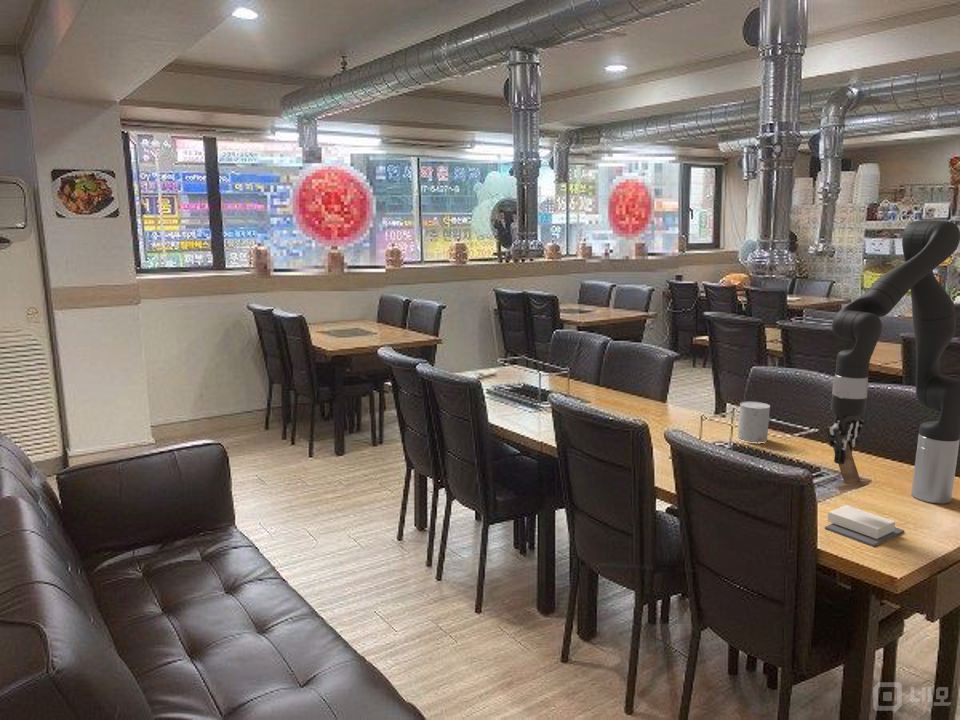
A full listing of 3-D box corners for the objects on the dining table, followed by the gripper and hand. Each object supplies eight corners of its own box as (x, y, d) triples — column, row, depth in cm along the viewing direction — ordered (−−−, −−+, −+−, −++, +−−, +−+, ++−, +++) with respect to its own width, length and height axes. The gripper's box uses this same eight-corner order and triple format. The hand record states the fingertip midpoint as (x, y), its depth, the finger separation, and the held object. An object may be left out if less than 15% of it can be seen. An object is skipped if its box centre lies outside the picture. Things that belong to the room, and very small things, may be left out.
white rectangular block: (846, 505, 180) (895, 521, 170) (845, 515, 181) (894, 532, 171) (828, 512, 176) (877, 529, 166) (827, 522, 176) (876, 540, 166)
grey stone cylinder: (737, 442, 241) (740, 407, 239) (737, 434, 250) (739, 400, 248) (767, 445, 238) (771, 409, 236) (766, 437, 247) (769, 402, 245)
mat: (855, 515, 182) (855, 513, 181) (904, 532, 172) (904, 530, 172) (824, 528, 174) (824, 526, 174) (873, 546, 164) (874, 544, 164)
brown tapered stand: (850, 486, 177) (833, 434, 179) (869, 484, 173) (852, 431, 175) (839, 490, 175) (822, 437, 177) (858, 488, 170) (841, 434, 173)
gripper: (849, 387, 179) (843, 453, 183) (818, 394, 171) (812, 463, 175) (880, 392, 173) (872, 461, 176) (849, 401, 165) (841, 472, 169)
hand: (842, 461), depth 176 cm, fingers closed on brown tapered stand, 2 cm apart
